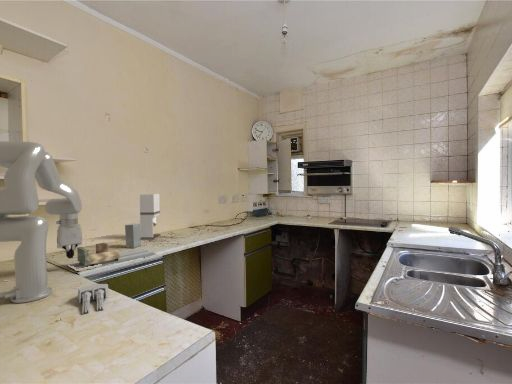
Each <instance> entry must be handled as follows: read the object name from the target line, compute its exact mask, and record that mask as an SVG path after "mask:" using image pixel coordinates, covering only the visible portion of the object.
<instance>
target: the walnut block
mask: <svg viewBox="0 0 512 384" xmlns="http://www.w3.org/2000/svg"><path fill="white" fill-rule="evenodd" d="M108 251H109V243H107V242H100V243H95V254H98V253H103V252H108Z"/></svg>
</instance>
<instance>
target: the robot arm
mask: <svg viewBox="0 0 512 384" xmlns="http://www.w3.org/2000/svg"><path fill="white" fill-rule="evenodd" d="M0 167H2V168H6V169H7V170H6V171H5V173H4V176H3V181H4V187H5V188H4V189H3V188H2V189H1V188H0V242H3V243H6V242H20V244H18V247H17V248H16V250H15V252H14V256H13V258H14V275H15V276H14V277H15V278H14V279H15V280H14V281H15V286H13V288H12V289H10V290H8V291H2V292H0V299H3V298H4V299H8V298H10V301H11V302H12V303H15V304H22V303H30V302H33V301H38V300H42V299H43V298H46V297H48V296H50V295H51V294H52V293H53V292H54V291H53V290H54V289H53V288H52V287H50V286H49V285H48V265H47V238H48V231H49V222H48V220H47V219H46V218H44V217H43V216H39V215H28V214H33V213H35V212H37V211H38V209H39V207H40V201H39V195H38V190H37V185H38V187H39V188H41V189H42V190H44V191H47V192H50V193H54V194H58V195H60V196H62V197H63V198H53V199H49V200H48V201H47V202H46V203H45V205H44V210H45V211H46V213H47V214H49V215H52V216H53V215H55V216H57V215H58V216H59V219H58V220H57V221H56V222H55V224H56V225H58V226H57V233H56V248H57V249H62V250H64V251H65V254H66V258H67V259H73V258H74V256H75V249H77V247H80V246H81V245H83V232H82V226H81V224H79V219H78V218H79V217H78V216H79V215H78V214H79V213H81V211H82V209H83V208H82V207H83V204H82V200H81V197H80V195H79V192H78V191H77V190H76V189H75V188H74V186H72V185H70V184H69V183H67V182H65V181H64V180H63V179H62V178H61V175H60V173H59V171H58V168H57V165H56V163H55V161H54V158H53V156H52V155H51V153H50V152H47V151H46V150H45V147H44V146H43V145H42V144H41V143H38V142H33V141H5V140H4V141H0ZM36 183H37V185H36ZM64 197H65V198H64ZM9 215H18V216H9Z"/></svg>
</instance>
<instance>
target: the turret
mask: <svg viewBox="0 0 512 384" xmlns="http://www.w3.org/2000/svg"><path fill="white" fill-rule="evenodd" d="M108 294H109V284H108V283H93V284H89V285H86V286H84V287H81V288H78V291H77V299H78V302H79V304H81V303H82V310H81V311H82V312H81V313H82V315H84V314H89V313H90V306H91V305H90V303H91V302H92V301H93V300H95V301H96V311H97V312H98V311H100V312H101V311H104V300H105V299H107V298H108Z"/></svg>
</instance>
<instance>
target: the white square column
mask: <svg viewBox="0 0 512 384" xmlns="http://www.w3.org/2000/svg"><path fill="white" fill-rule="evenodd" d="M160 204H161V203H160V193H152V194H151V193H150V194H148V193H141V194H139V216H140V217H139V218H140V219H139V221H140V222H139V224H140V230H141V241H155V240H157V239H159V238H161V233H160V234H157V233H155V234H154V228H155V226H156V225H157V217H158V216H160V215H161V209H160V208H161V207H160V206H161V205H160Z"/></svg>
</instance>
